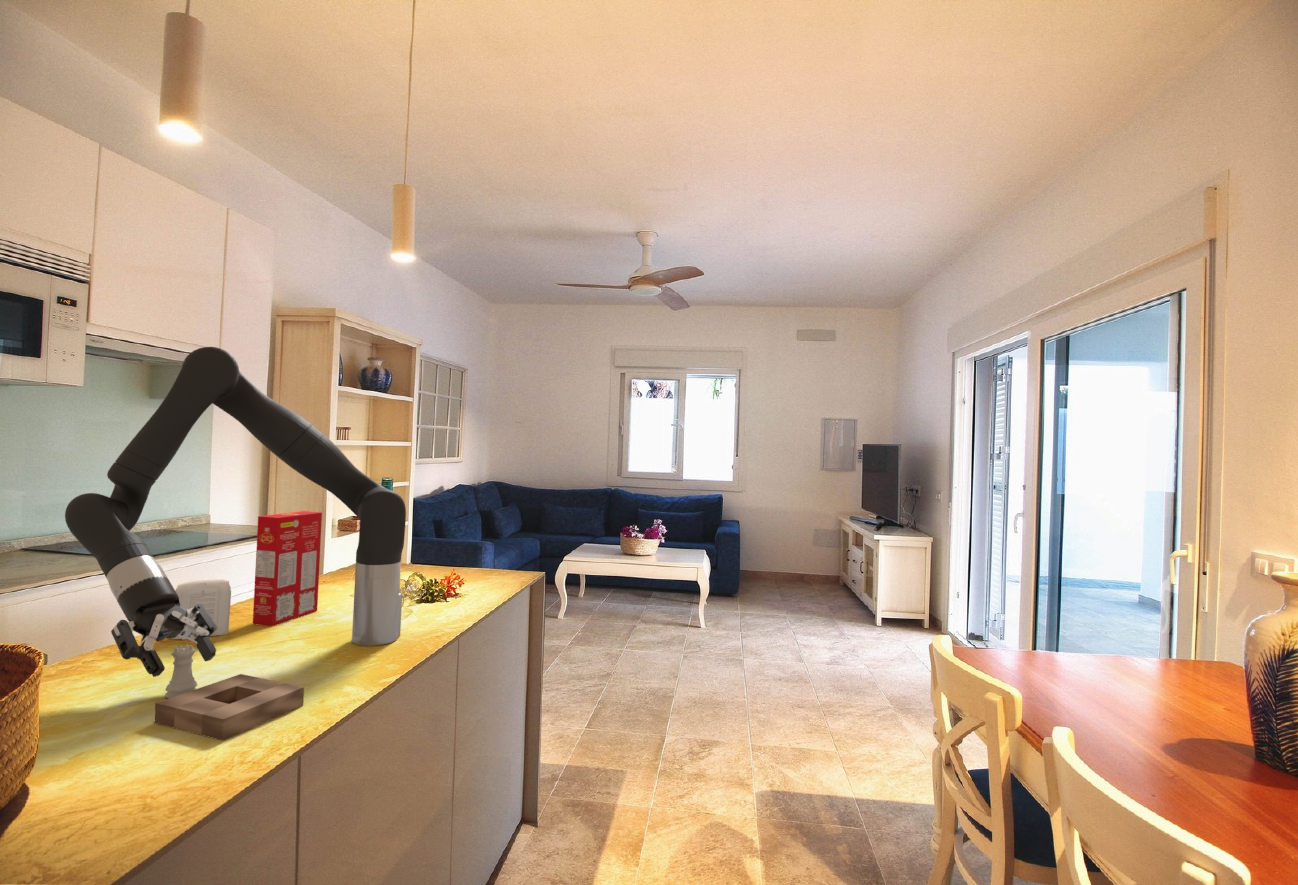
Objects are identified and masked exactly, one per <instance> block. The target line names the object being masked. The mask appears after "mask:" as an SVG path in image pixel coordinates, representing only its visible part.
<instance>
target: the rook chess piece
mask: <svg viewBox="0 0 1298 885" xmlns="http://www.w3.org/2000/svg"><path fill="white" fill-rule="evenodd" d="M195 653H196V650H195V649H194V647H193V645H192V644H190V645H189V644H184V647H183V645H178V646H175V647H174V650H173V651H172V653H171V656H172V657H173V659H174V661H173V662H172V665H173V671H172V676H171V679H170V680H169V683H168V684H167V685H166V687H165V691H166V692H165V693H164V696H165V697H166V699H169V698H172V697H175V696H178V695H180V694H183V693H186V692H189V691H192V690H195V689H198V688H197V687H198V682H197V681H196V680H195V677H194V676H193V670H192V665H193V662H194V659H193V656H194V654H195Z"/></svg>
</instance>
